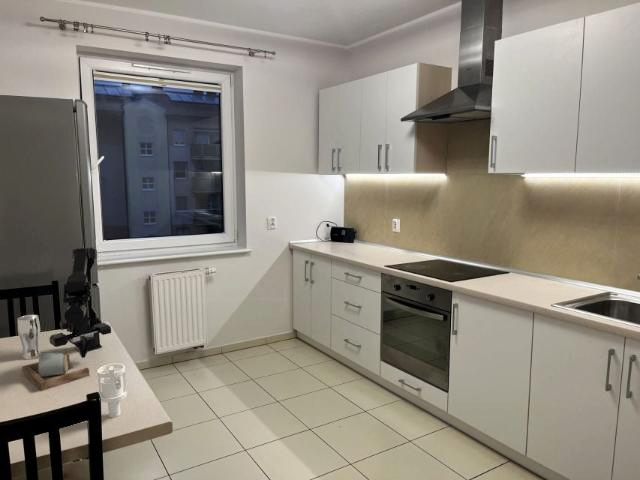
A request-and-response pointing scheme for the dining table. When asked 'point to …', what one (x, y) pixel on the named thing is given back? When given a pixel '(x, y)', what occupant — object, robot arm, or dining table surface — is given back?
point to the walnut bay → (53, 382)
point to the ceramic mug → (52, 364)
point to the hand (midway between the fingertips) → (83, 357)
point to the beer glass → (29, 336)
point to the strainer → (112, 387)
